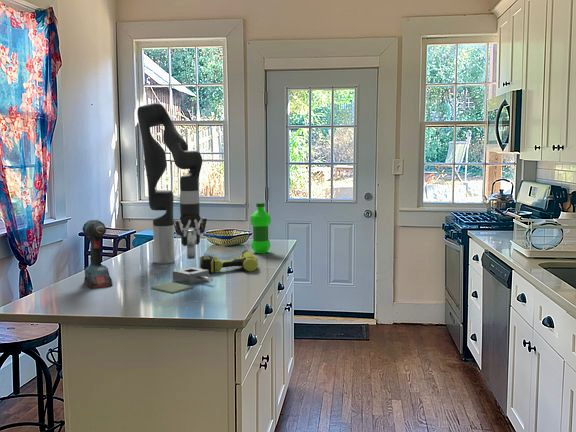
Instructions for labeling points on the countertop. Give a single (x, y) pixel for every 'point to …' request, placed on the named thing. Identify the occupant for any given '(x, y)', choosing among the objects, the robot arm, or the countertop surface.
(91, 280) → the power drill
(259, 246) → the plastic bottle
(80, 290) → the countertop surface
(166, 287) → the mat
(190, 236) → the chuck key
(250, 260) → the cordless drill
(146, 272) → the countertop surface
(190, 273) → the block
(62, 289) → the countertop surface
